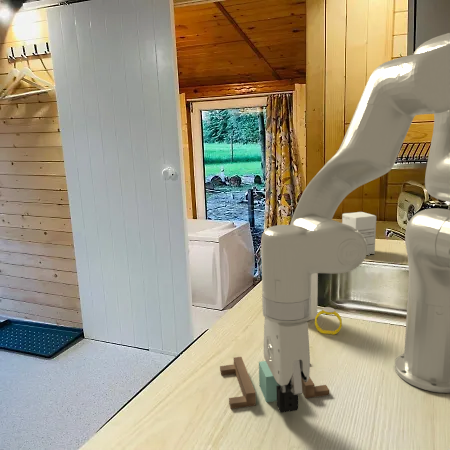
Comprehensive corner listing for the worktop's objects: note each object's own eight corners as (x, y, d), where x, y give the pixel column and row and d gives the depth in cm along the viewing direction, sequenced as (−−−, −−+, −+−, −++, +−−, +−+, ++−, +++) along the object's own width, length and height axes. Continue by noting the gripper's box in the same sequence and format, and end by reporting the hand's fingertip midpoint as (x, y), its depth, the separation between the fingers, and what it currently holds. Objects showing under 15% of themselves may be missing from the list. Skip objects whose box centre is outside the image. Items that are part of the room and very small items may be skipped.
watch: (340, 332, 97) (343, 309, 95) (340, 338, 94) (342, 314, 93) (314, 328, 99) (317, 305, 97) (313, 333, 96) (315, 309, 95)
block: (285, 382, 78) (285, 358, 77) (293, 398, 73) (293, 373, 72) (259, 386, 77) (258, 361, 76) (266, 402, 72) (265, 377, 71)
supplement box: (340, 251, 160) (341, 213, 156) (360, 248, 162) (361, 211, 159) (354, 257, 151) (356, 217, 148) (375, 254, 154) (377, 215, 151)
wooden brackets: (305, 359, 85) (305, 348, 85) (329, 395, 74) (329, 382, 73) (220, 370, 83) (219, 359, 82) (230, 408, 71) (230, 395, 70)
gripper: (251, 290, 71) (254, 385, 75) (277, 329, 57) (279, 444, 61) (293, 285, 72) (294, 380, 76) (329, 323, 58) (327, 436, 62)
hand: (287, 408), depth 69 cm, fingers closed
